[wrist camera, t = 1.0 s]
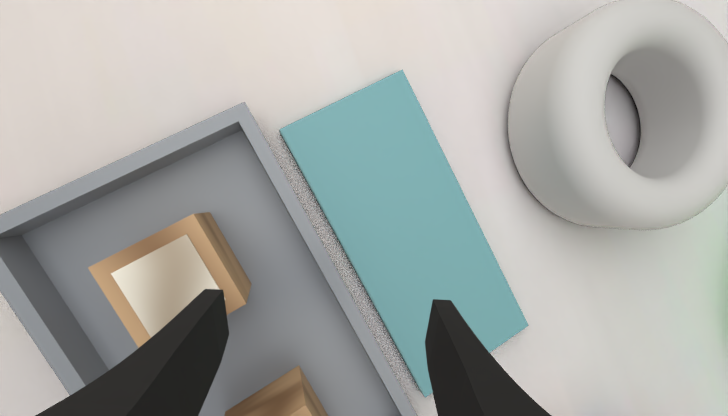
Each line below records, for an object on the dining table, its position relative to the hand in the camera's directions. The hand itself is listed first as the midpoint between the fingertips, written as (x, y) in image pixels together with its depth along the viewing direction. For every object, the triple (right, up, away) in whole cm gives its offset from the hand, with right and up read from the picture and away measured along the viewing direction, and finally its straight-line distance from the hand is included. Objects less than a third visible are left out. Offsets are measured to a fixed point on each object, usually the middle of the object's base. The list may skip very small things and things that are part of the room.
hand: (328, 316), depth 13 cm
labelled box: (-9, 0, +9) cm, 13 cm away
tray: (-7, -4, +11) cm, 13 cm away
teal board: (+4, +2, +13) cm, 14 cm away
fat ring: (+18, +10, +17) cm, 27 cm away
